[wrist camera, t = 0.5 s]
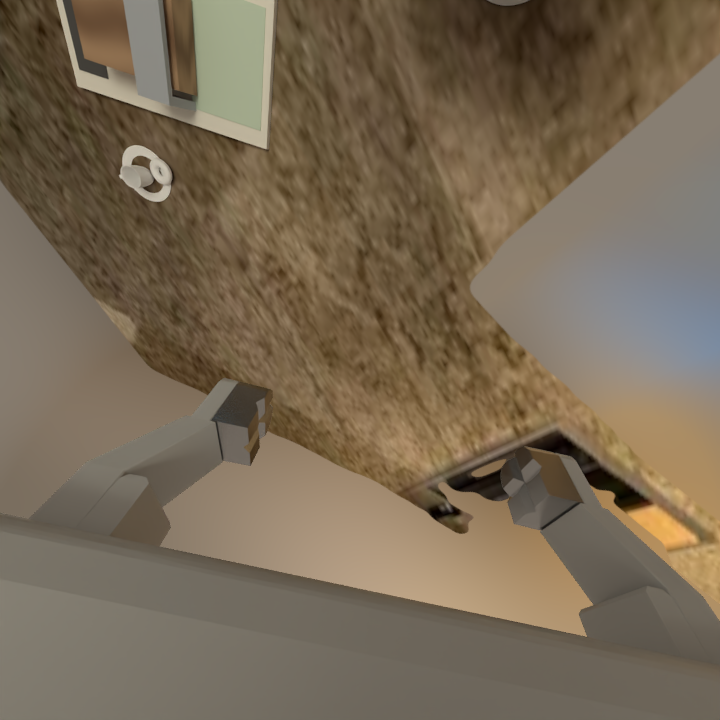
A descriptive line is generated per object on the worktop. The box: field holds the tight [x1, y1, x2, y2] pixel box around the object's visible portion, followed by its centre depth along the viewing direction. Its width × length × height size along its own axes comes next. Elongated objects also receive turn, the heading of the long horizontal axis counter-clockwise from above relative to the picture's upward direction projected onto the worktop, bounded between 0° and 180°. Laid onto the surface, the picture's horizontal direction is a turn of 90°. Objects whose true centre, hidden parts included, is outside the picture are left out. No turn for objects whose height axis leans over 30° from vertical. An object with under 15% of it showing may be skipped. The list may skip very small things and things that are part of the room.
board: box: [56, 0, 278, 150], centre depth 37 cm, size 16×28×1 cm, turn 75°
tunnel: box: [123, 0, 197, 111], centre depth 35 cm, size 12×4×6 cm, turn 165°
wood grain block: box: [71, 0, 197, 96], centre depth 35 cm, size 9×12×4 cm
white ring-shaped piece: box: [119, 145, 173, 202], centre depth 46 cm, size 9×8×4 cm
